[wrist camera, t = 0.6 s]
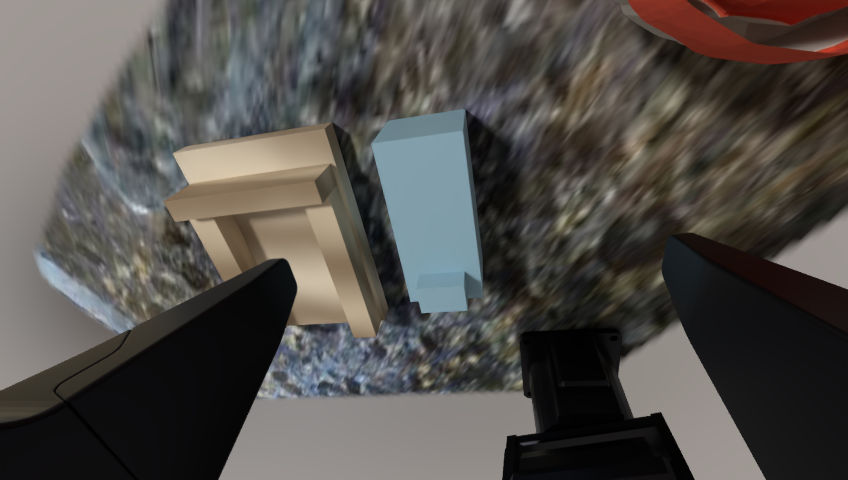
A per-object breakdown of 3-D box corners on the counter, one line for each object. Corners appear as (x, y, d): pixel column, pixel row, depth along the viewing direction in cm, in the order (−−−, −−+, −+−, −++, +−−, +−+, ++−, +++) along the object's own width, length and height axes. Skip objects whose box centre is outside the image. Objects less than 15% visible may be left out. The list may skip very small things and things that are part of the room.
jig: (388, 308, 27) (376, 347, 24) (272, 315, 29) (248, 352, 25) (332, 122, 20) (306, 143, 17) (186, 146, 22) (140, 169, 19)
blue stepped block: (482, 255, 24) (483, 312, 19) (419, 260, 25) (407, 316, 20) (465, 108, 19) (461, 139, 15) (389, 119, 20) (364, 152, 16)
